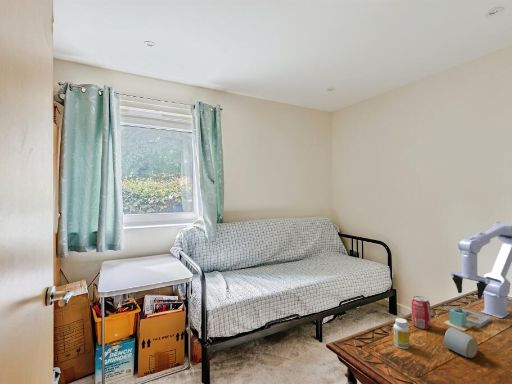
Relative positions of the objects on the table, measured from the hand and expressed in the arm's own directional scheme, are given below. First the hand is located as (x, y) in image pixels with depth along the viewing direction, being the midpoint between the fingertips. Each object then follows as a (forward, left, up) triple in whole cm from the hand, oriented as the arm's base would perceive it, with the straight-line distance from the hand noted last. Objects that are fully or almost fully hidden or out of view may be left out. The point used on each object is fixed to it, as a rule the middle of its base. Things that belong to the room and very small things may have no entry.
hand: (469, 295), depth 125 cm
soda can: (+26, -8, -11) cm, 29 cm away
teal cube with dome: (+11, 0, -10) cm, 15 cm away
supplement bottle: (+47, -4, -11) cm, 48 cm away
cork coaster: (+12, 0, -10) cm, 16 cm away
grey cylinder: (+32, +10, -11) cm, 35 cm away
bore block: (+1, +1, -10) cm, 10 cm away
